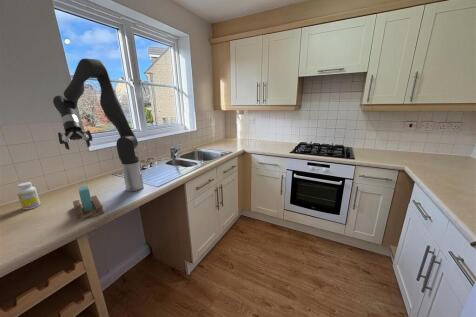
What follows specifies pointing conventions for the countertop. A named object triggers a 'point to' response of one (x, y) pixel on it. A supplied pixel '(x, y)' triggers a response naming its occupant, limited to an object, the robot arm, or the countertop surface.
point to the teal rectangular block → (85, 198)
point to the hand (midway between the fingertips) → (78, 147)
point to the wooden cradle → (91, 213)
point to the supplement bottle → (28, 196)
